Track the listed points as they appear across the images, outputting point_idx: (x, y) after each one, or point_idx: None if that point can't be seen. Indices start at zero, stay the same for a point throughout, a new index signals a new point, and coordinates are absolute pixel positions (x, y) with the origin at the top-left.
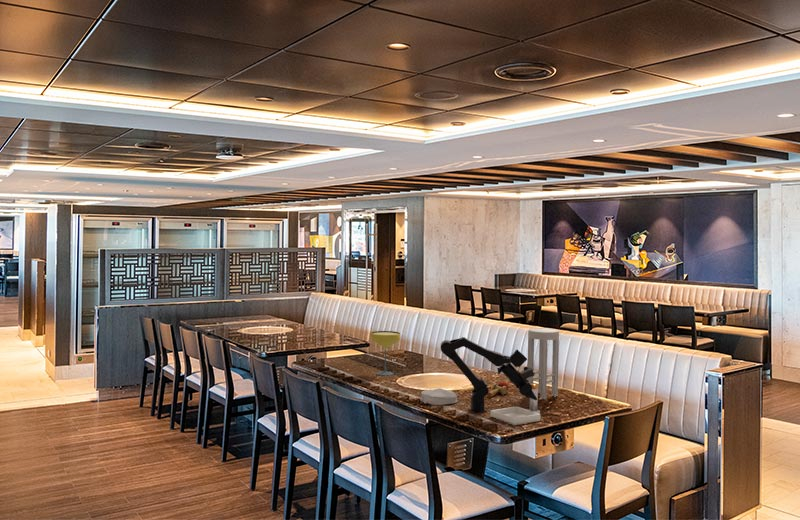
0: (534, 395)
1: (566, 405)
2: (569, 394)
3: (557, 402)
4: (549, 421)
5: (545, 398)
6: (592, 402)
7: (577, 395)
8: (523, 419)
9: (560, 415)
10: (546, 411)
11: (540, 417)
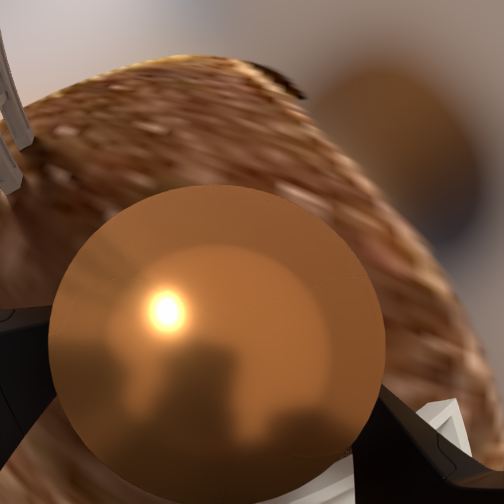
0: (414, 422)
1: (136, 137)
2: (45, 108)
3: (80, 152)
4: (439, 352)
5: (20, 176)
6: (148, 80)
7: (66, 95)
8: None
9: None
10: None
11: (440, 401)
